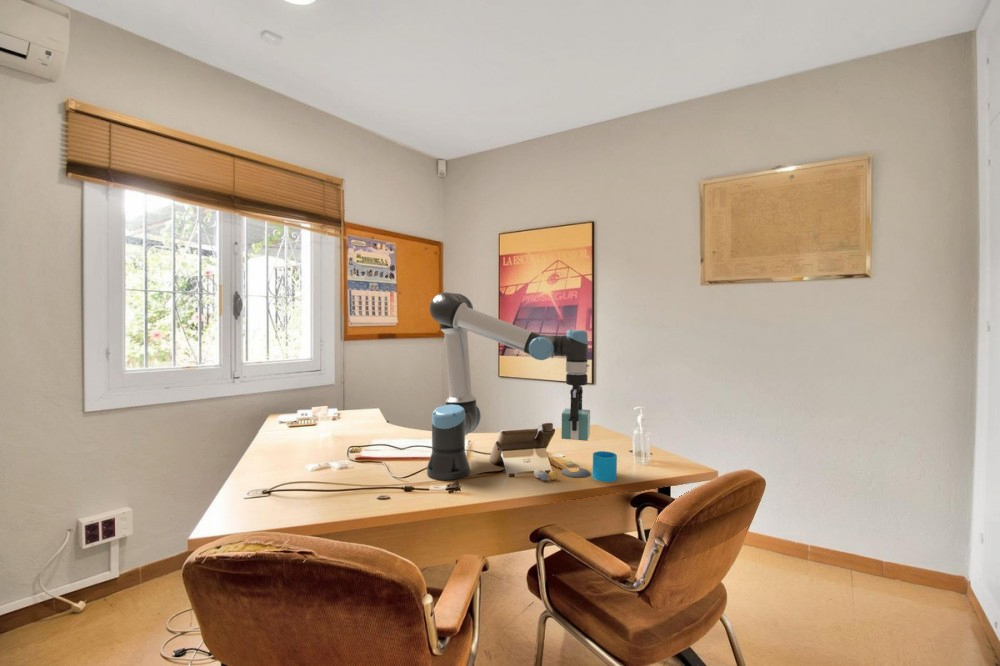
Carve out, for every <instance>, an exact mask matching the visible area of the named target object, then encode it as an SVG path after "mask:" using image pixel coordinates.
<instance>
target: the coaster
mask: <svg viewBox="0 0 1000 666" xmlns="http://www.w3.org/2000/svg"><path fill="white" fill-rule="evenodd" d="M578 468H579V471H578V472H570V471H568V470H566V469H564V468H562V469H561V474H562V475H563V476H566V477H569V478H576V479H577V478H579V479H580V478H581V479H582V478H587V477H589V475H591V472H590V470H588V469H586V468H583V467H578Z"/></svg>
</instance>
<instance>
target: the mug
mask: <svg viewBox="0 0 1000 666" xmlns="http://www.w3.org/2000/svg"><path fill="white" fill-rule="evenodd" d="M617 461H618V455H617V454H616V453H614V452H612V451H611V452H610V451H604V450H603V451H602V450H601V451H599V450H598V451H595V452H593V453H592V479H593V480H595V479H596V480H595V481H599V482H602V481H604V482H605V483H612V482H616V480H617V477H618V476H617V474H618V473H617V471H618V470H617V468H618V462H617ZM604 482H603V483H604Z"/></svg>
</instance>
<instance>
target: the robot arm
mask: <svg viewBox="0 0 1000 666" xmlns="http://www.w3.org/2000/svg"><path fill="white" fill-rule="evenodd" d="M473 306H474V305H473V303H472V301H471V300H470V299H469V298H468V297H467V296H465V295H463V294H461V293H455V292H453V293H452V292H447V291H445V292H440V293H437V294H436V295H435V296H434V297H433V298H432V299H431V301H430V303H429V313H430V316H431V317H432V319H433V320H434V321H435V322H436V323H439V325H440V331H441V332H443V334H444V341H445V342H444V343H445V352H446V353H445V354H446V369H447V370H446V371H447V381H448V397H447V399H446V400H445V404H444V405H440V406H438V407H435V409H434V410H432V414H431V455H430V457H429V461H428V464H427V467H426V475H427V476H428V477H430V478H432V479H436V480H441V481H442V480H443V481H445V480H446V481H448V480H449V481H450V480H451V481H452V480H458V479H463V478H466V477H467V476H468V475H469V474H470V471H471V469H470V463H469V460H468V457H467V454H466V448H465V447H466V446H465V445H466V436H468V434H470V433H472V432H474V431H475V429H476V428H477V427H478V426H479V424H480V422H481V417H482V415H481V413H482V412H481V410H480V408H479V406H477V399H476V398H477V397H475V396H474V395H473V393H472V382H471V368H470V353H469V340H468V332H471V333H474V334H476V335H479V336H480V337H481V336H482V337H484V338H486V339H489V340H492V341H494V342H497V343H499V344H502V345H504V346H507V347H508V348H509V347H510V348H512V349H514V350H517V351H520V352H523V353H525V354H526V355H530V356H531V357H532V358H533V359H535V360H537V361H545V360H547V359H549V358H550V357H565V360H566V362H565V373H566V375H565V383H566V385H568V386H572V388H571V389H570V408H569V409H570V419H569V421H571V439H570V440H572V441H573V440H575V441H580V440H579V421H578V414H579V409H580V410H581V409H582V410H583V394H584V393H583V391H584V389H583V386H587V385H588V374H587V373H588V368H589V367H590V364H588V359H589V358H588V354H589V353H588V352H589V351H588V350H589V341H588V332H587V331H586V330H585V329H583V330H582V329H574V330H572V329H571V330H570V329H568V330H567V331H566V334H564V335H552V334H551V335H549V334H547V335H545V334H538V333H536V332H533V331H531V330H529V329H525V328H522V327H520V326H517V325H516V324H512V323H510V322H507V321H504V320H502V319H499V318H497V317H494V316H492V315H489V314H487V313H484V312H482V311H479V310H476V309H474V307H473Z"/></svg>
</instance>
